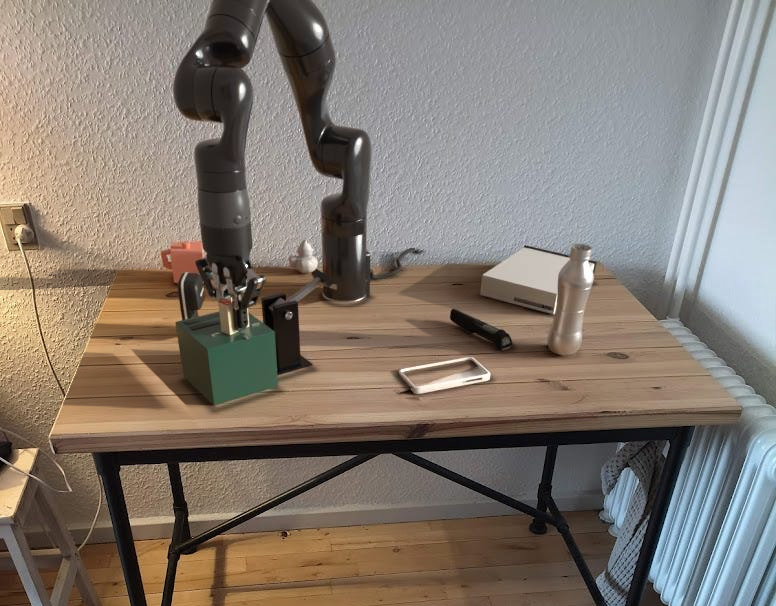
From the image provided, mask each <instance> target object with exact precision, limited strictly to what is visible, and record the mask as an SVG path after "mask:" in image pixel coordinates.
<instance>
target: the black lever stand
mask: <svg viewBox="0 0 776 606" xmlns="http://www.w3.org/2000/svg"><path fill="white" fill-rule="evenodd" d="M279 298H282V299H283V300H285V301H286V300H287V294H286V293H285V292H279V293H275V294H271V295H266V296H263V297H261V298H260V301H261V314H262V315H261V316H262V323H264V324H265V325H266V326H268V327H269V328H270V329H272V330H273V331H274V332H275V347H276V362H277V377H279V376H281V375H284V374H288V373H291V372H295V371H298V370H301V369H304V368H309V367H311V366H313V363H312V362H311V361H309V360H308V359H307V358H305V356H303V355H302V354H301V339H300V338H301V337H300V318H299V317H300V316H299V313H300V312H299V301H298V302H297V301H295V300H294V301H290V302H286V303H282V304H278V305H274V306H273V316H272V314H271V312H270V310H269V308H268V307H269V306H270V305H271V304H273V303H274V302H275V301H277V300H278V299H279Z"/></svg>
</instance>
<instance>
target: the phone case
mask: <svg viewBox="0 0 776 606" xmlns="http://www.w3.org/2000/svg"><path fill="white" fill-rule="evenodd" d="M464 361H473V363H474V364H475V365H476V366H474V367H471V368H468V369H465V370H462V371H458V372H457V373H453V374H450V375H447V376H444V377H442V378H438V379H435V380H432V381H429V382H426V383H423V384H420V385H418V386H417V385H415V384H414V383H413V381H411V379H409V378H408V377H407V375H406V374H405V373H404V372H407V371H409V372H410V371H414V370H419V369H424V368H429V367H436V366H442V365H446V364H452V363H458V362H464ZM398 374H399V375H400V376H402V377H403V378H404V380H406V381H407V382H408V383H409V385H410V386H411V388H410V389H409V390H410V391H411V392H412V393H413V394H415V395H420V394H425V393H430V392H431V393H432V392H435V391H440V390H447V389H452V388H458V387H462V386H467V385H473V384H476V383H477V384H478V383H483V382H487V381H490V379H491V372H490V371H489V370H488V369H487V368H485V366H483V364H481V363H480V362H479V361H478V360H477V359H476V358H474V357H473V356H465V357H459V358H454V359H449V360H443V361H438V362H433V363H432V362H431V363H427V364H421V365H416V366H409V367H404V368H401V369H398Z"/></svg>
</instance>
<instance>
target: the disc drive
mask: <svg viewBox="0 0 776 606" xmlns="http://www.w3.org/2000/svg"><path fill="white" fill-rule="evenodd" d="M569 260H570V258H569V254H565V253H560V252H557V251H552V250H548V249H543V248H539V247H535V246H530V245H526V244H525V245H523V248H521V249H520V250H518V251H517V252H515V253H513V254H512V255H510V256H508V257H507V258H506V259H504V260H503V261H502V262H500V263H498V264H496V265H495V266H493V267H492V268H491V269H489V270H487V271H486V272H484V273H483V274H482V275H481V284H480V285H481V286H480V294H479V295H480V296H482V297H486V298H491V299H494V300H498V301H502V302H506V303H508V304H513V305H517V306H521V307H524V308H527V309H531V310H535V311H539V312H543V313H545V314H546V313H547V314H550V315H554V314H555V311H556V304H557V293H558V274H559V272H560V270H561V269H562V267H563V266H564V265H565V264H566V263H567V262H568V261H569ZM588 262H589V264H590V266H591V268H592V271H593V274H594V275H595V273H596V267H597V264H598V263H597V262H598V261H595V260H591V259H590V260H588Z"/></svg>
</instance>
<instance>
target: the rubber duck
mask: <svg viewBox="0 0 776 606" xmlns="http://www.w3.org/2000/svg"><path fill="white" fill-rule="evenodd" d="M307 239H308V238H307V237H305V238H304V239H303V240H302V241H301V242H300V243H299V245H298V246H297V248H296V249H297V250H296V253H297V254H298V255H293V254H292V255H289V256H288V262H289V268H291V269H296V270H297V271H298V272H300V273H301V274H311V272H313V271H314V270H315V269H317V268H318V265H319V263H318V259H317V257H315V256H314V255H313V254H314V250H315V249H314V248H312V245H311V243H309V242H308V240H307Z"/></svg>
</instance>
